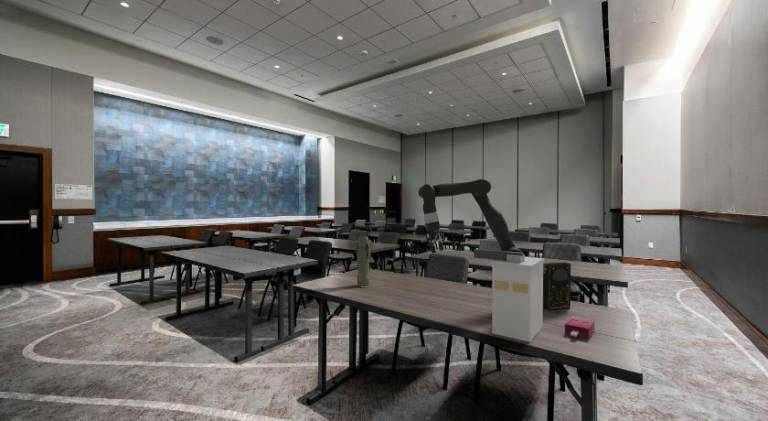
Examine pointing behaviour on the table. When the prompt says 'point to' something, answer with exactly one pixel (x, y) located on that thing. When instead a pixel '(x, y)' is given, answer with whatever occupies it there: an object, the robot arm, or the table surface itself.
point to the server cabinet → (517, 298)
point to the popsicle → (580, 327)
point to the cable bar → (499, 255)
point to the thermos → (363, 261)
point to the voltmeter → (556, 285)
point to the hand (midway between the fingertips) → (437, 251)
